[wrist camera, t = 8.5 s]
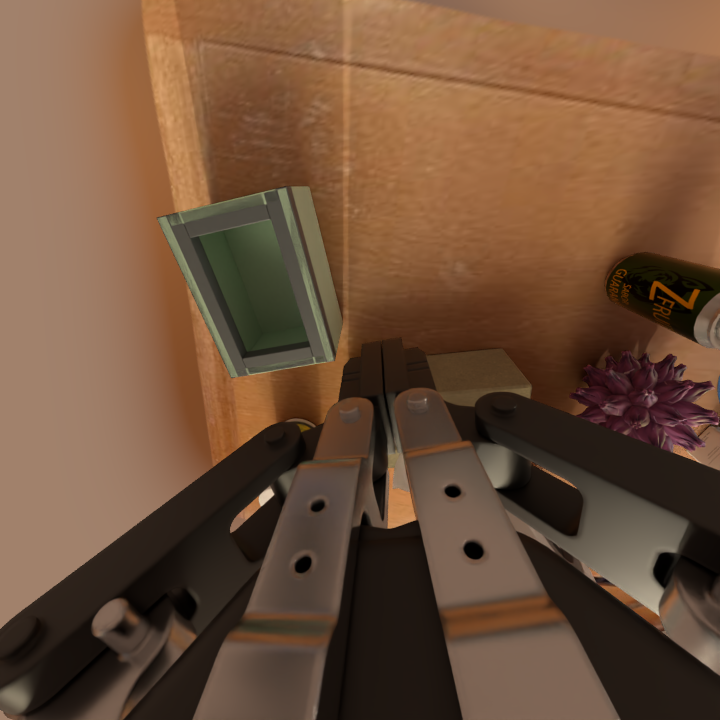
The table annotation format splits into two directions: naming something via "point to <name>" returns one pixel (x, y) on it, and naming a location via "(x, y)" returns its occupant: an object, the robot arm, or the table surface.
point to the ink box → (709, 448)
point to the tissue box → (467, 386)
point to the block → (719, 388)
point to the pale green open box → (260, 279)
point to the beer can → (669, 294)
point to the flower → (646, 401)
